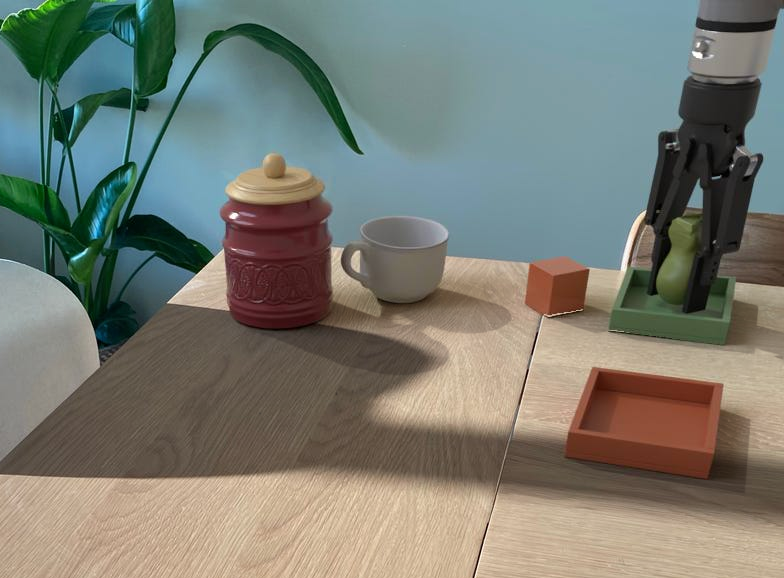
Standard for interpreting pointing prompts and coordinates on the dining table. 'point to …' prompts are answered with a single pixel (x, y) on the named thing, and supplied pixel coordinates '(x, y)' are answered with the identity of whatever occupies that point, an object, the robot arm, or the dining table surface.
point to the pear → (680, 258)
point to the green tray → (671, 311)
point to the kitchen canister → (277, 246)
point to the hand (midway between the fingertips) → (675, 301)
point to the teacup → (399, 257)
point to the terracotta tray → (646, 422)
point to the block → (556, 285)
